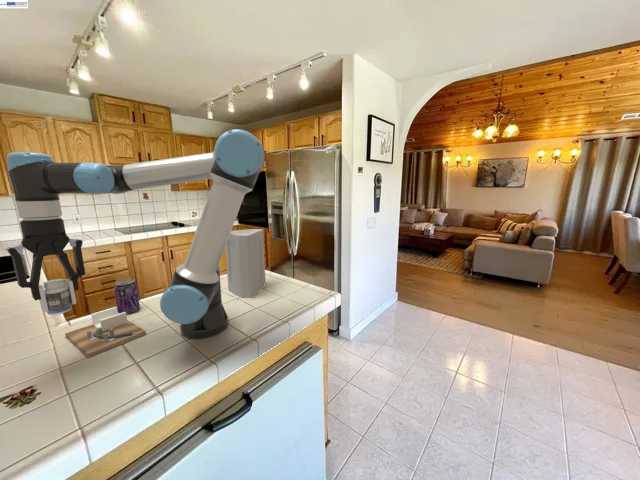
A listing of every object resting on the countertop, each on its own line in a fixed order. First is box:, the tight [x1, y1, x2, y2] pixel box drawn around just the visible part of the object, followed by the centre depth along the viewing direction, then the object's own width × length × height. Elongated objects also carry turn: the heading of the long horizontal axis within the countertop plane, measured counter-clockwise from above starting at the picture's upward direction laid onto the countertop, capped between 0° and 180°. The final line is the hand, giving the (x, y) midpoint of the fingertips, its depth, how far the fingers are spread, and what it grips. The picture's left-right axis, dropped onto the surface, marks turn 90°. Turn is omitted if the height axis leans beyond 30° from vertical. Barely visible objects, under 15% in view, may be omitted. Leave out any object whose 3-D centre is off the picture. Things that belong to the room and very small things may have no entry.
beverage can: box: [113, 278, 141, 315], centre depth 102 cm, size 7×7×12 cm
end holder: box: [91, 306, 128, 332], centre depth 91 cm, size 8×7×4 cm
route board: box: [64, 319, 147, 359], centre depth 86 cm, size 20×15×4 cm
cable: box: [93, 329, 132, 339], centre depth 83 cm, size 13×4×1 cm, turn 81°
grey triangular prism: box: [225, 228, 266, 299], centre depth 123 cm, size 19×15×28 cm
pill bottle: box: [43, 278, 73, 316], centre depth 69 cm, size 5×5×8 cm
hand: (59, 306), depth 70 cm, fingers closed on pill bottle, 5 cm apart
